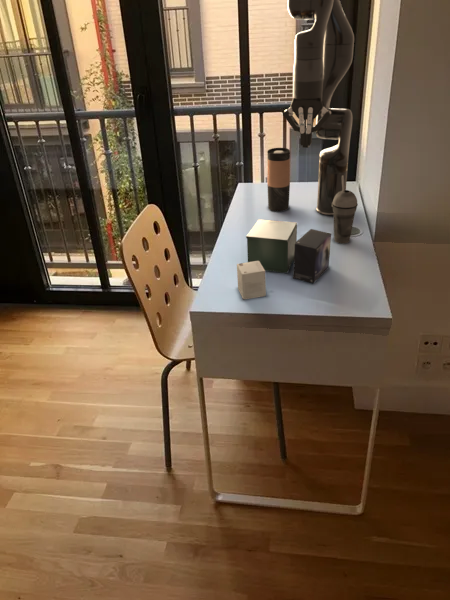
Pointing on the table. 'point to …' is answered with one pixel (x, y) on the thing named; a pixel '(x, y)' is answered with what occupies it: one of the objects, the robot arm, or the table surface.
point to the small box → (311, 255)
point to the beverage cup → (344, 214)
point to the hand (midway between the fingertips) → (305, 146)
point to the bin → (272, 253)
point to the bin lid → (272, 230)
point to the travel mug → (278, 179)
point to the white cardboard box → (251, 280)
